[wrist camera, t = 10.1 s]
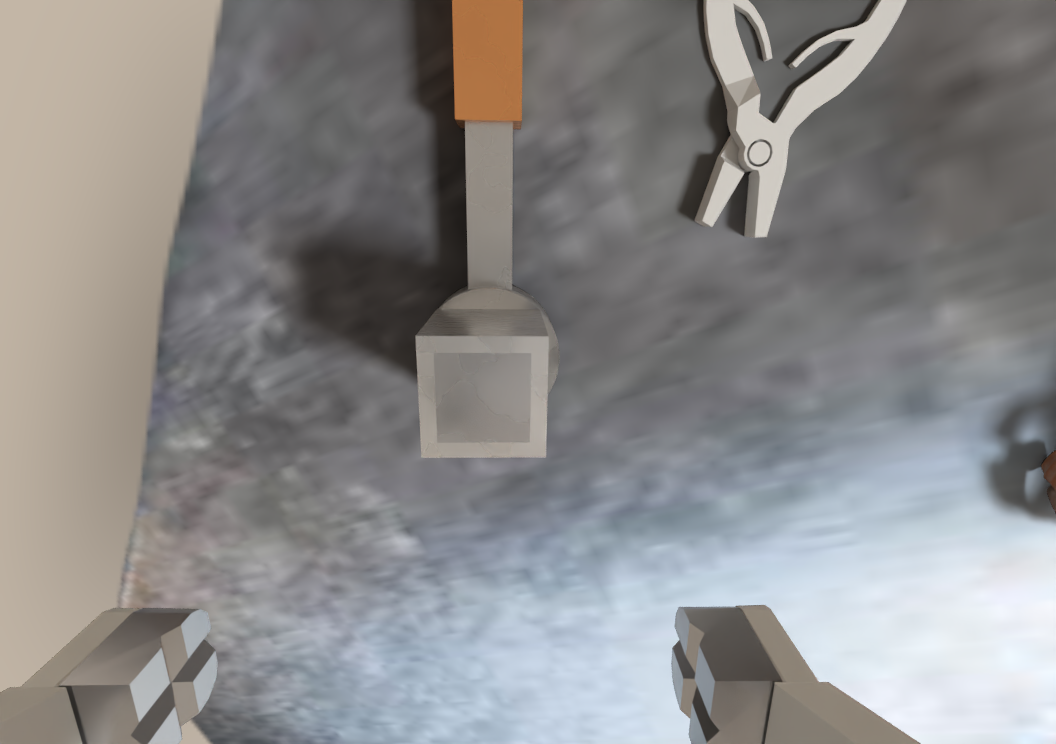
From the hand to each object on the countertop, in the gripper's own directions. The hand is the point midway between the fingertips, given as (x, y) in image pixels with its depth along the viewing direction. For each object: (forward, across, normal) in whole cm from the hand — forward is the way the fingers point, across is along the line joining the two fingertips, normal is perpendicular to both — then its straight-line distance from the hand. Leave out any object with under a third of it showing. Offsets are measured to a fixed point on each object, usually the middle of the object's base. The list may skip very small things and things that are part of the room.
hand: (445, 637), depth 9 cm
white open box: (+18, 0, 0) cm, 18 cm away
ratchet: (+21, 0, -8) cm, 22 cm away
